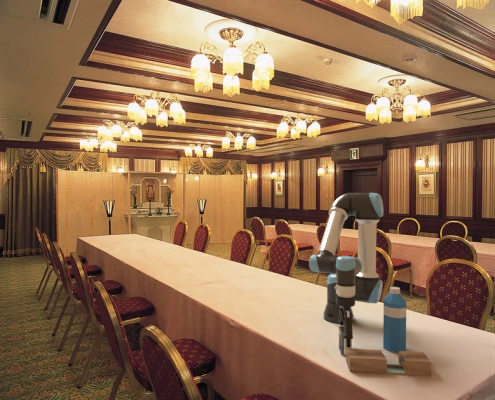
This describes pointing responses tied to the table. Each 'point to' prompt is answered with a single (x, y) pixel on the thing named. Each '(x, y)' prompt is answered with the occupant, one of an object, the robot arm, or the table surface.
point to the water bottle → (394, 321)
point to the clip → (341, 339)
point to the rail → (378, 363)
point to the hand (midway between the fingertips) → (345, 347)
